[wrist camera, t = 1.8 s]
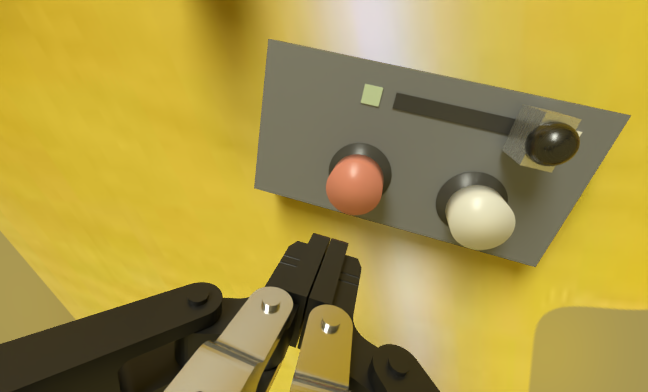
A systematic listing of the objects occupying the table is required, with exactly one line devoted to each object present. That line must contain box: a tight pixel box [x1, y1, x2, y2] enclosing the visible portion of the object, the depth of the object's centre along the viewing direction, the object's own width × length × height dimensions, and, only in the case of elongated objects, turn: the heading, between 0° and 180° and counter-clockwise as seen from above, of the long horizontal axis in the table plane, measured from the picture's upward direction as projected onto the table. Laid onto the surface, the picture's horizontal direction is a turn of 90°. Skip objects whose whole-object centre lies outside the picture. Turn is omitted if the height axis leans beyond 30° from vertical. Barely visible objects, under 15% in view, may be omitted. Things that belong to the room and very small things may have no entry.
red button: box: [326, 154, 384, 215], centre depth 20 cm, size 4×4×2 cm
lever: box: [502, 104, 582, 173], centre depth 16 cm, size 2×3×4 cm
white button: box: [445, 185, 515, 250], centre depth 19 cm, size 4×4×2 cm
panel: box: [254, 39, 631, 267], centre depth 22 cm, size 22×11×4 cm, turn 78°
